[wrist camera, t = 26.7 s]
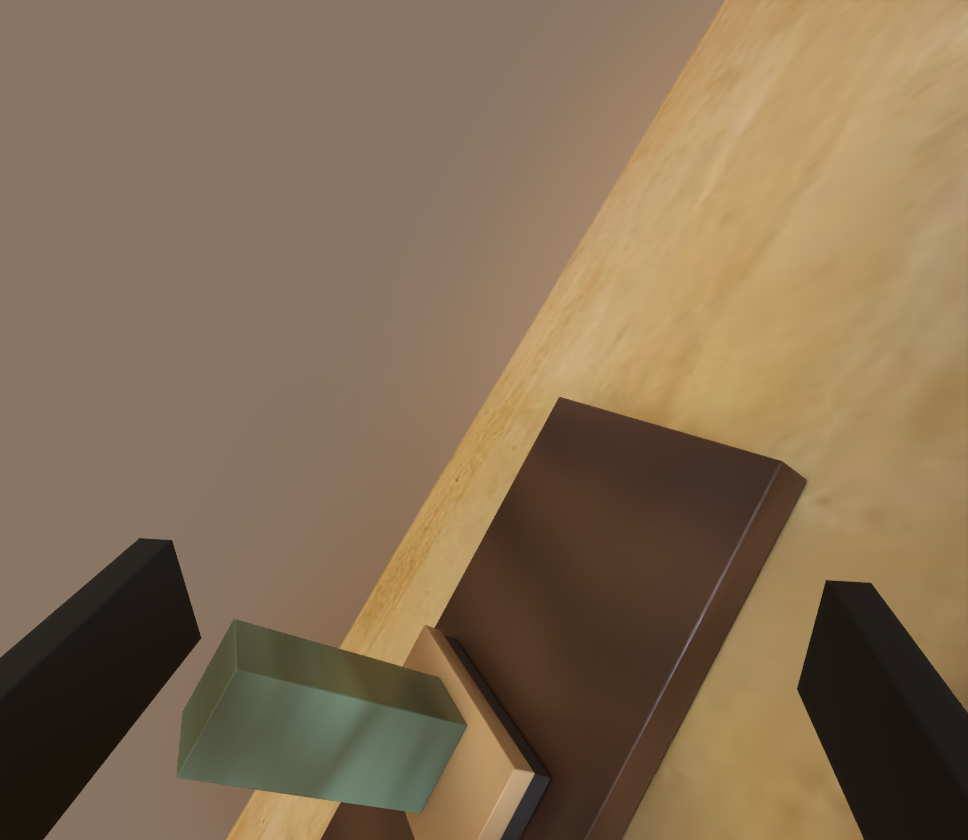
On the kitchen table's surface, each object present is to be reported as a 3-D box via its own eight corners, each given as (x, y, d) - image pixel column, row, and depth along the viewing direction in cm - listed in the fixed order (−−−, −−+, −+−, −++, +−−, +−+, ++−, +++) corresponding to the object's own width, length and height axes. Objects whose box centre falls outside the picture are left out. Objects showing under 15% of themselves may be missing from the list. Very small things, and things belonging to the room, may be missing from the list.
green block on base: (455, 634, 27) (241, 563, 22) (555, 777, 19) (252, 714, 14) (405, 729, 27) (177, 678, 22) (484, 914, 19) (152, 896, 14)
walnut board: (579, 409, 30) (558, 396, 29) (808, 479, 18) (782, 460, 17) (339, 856, 29) (312, 853, 28) (418, 1230, 17) (375, 1241, 17)
